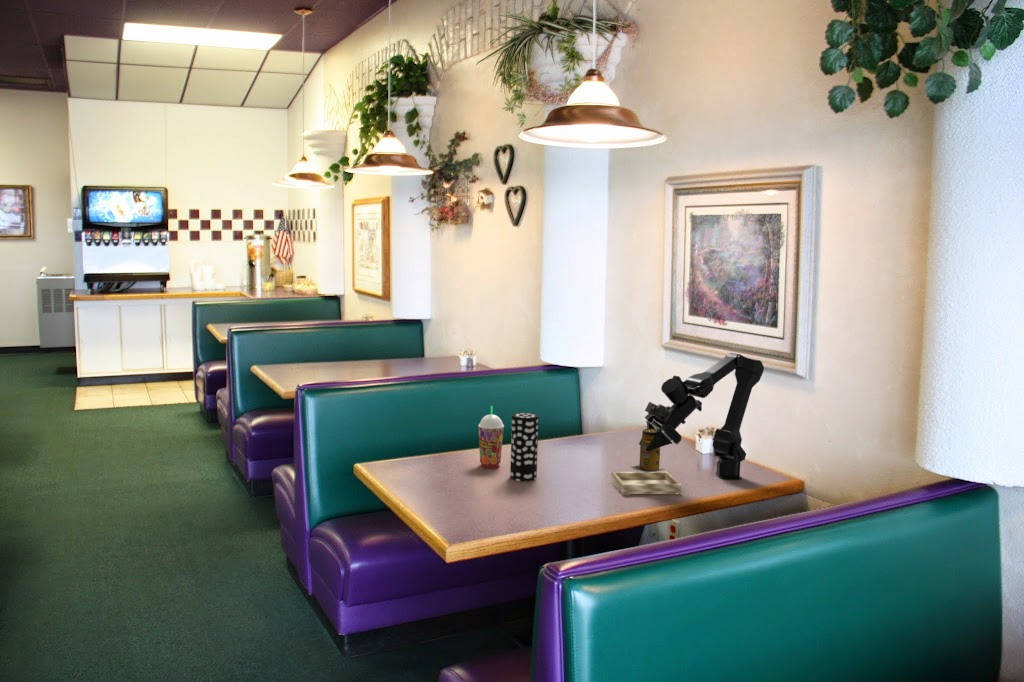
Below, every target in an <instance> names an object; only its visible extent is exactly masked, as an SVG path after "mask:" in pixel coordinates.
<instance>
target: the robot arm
mask: <svg viewBox="0 0 1024 682" xmlns="http://www.w3.org/2000/svg"><path fill="white" fill-rule="evenodd" d="M734 370H735V372H734V377H735V381H736V384H735V389H734V392H733V395H732V398H731V401H730V405H729V408H728V412H727V416H726V419H725V421H724V424H723V426H722V427H721V428H716V429H715V432H714V435H713V438H712V439H711V440H712V447H713V452H714V456H715V457H718V461H717V462H716V470H715V474H716V475H717V476H718V477H719V478H720V479H722V480H735V479H736V480H741V479H742V476H741V463H742V462H743V461H745V460H746V456H747V453H746V451H745V450H744V448H743V447H742V441H743V439H742V435H741V431H740V430H741V426H742V424H743V423H742V422H743V419H744V416H745V413H746V410H747V406H748V403H749V400H750V396H751V393H752V389H753V387H755V386H756V385H757V383H759V381H760V380H761V378H762V376H763V374H764V370H765V366H764V364H763V362H762V360H759V359H754V358H750V357H746V356H744V355H742V354H740V353H734V352H728V353H727V354H726V355H725V356H724V357H723V358H722V359H720V360H718V362H716V363H715V364H713V365H712V366H710V367H708V369H706V370H704V371H703V372H701V373H696V374H693V375H690V376H689V377H687V378H686V379H685V380H684V381H683V380H682V378H681V377H680V376H679V375H673V376H672V377H671V378H669V379H666V380H665V381H663V382H662V385H661V387H660V388H661V392H662V393H663V394H664V395H665V397H666V398H667V399H668V400H669V401H670V403H672V405H671V406H669V405H667V406H665V405H662V404H661V403H658V405H657V404H655V403H653V402H651V401H649V402H648V404H647V406H646V408H645V410H644V411H645V412H647V414H646V415H645V416H644V419H645V420H646V421H645V422H646V429H655V430H657V431H656V436H655V437H654V438H653V440H652V441H651V442H650V443H649V445H648V446H647V447H646V450H647V451H648V452H649V451H651V450H654V449H657V448H659V447H660V448H662V447H666V446H668V445H673V443H674V444H675V445H679V444H680V442H682V435H681V434H680V433H679V432H678V431H677V430H676V429H678V427H679V426H680V425H682V424H683V425H685V424H686V419H687V418H689V416H690V415H691V414H692V413H693V412H694V411H695V410H697V411H699V412H702V410H703V409H702V407H703V406H702V405H703V403H702V401H701V400H699V399H696V398H700V399H705V398H707V397H708V396H709V395H710V394H711V393H712V392H713V391H714V387H715V385H716V384H717V383H718V382H720V381H721V380H722V379H723V378H726V377H727V376H728V375H729V374H730V373H732V372H733V371H734ZM695 397H696V398H695ZM640 443H641V440H640V441H639V443H638V444H639V446H640Z"/></svg>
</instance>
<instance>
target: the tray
mask: <svg viewBox="0 0 1024 682" xmlns="http://www.w3.org/2000/svg"><path fill="white" fill-rule="evenodd" d="M610 475H611V477H610V482H611V483H612V484H613V486H614V485H615V486H616V487H615V488H616V489H617V490H618V492H619V491H620V492H621V493H622V494H621V493H620V492H619V493H620V494H621V495H622V496H630V495H629V494H670V495H681V494H682V484H681V483H680V482H679V481H678V480H677V479H676V478H675V477H674V476H672V475H671V474H670V473H669V472H668V471H657V472H649V473H645V474H644V473H641V472H638V471H611V473H610ZM676 493H678V494H676ZM680 493H681V494H680ZM624 494H625V495H624Z"/></svg>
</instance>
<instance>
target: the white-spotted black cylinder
mask: <svg viewBox="0 0 1024 682" xmlns="http://www.w3.org/2000/svg"><path fill="white" fill-rule="evenodd" d="M539 417H540V416H539V414H537V413H532V412H515V413H513V414H512V415H511V435H510V436H511V438H510V442H511V443H510V467H509V468H510V470H509V471H510V473H509V474H510V475H509V477H510V479H511V480H513V481H516V482H532V481H536V479H537V478H538V477H537V475H538V473H537V472H538V452H539V451H538V448H539V447H538V445H539V444H538V443H539V419H540V418H539Z"/></svg>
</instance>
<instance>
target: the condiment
mask: <svg viewBox="0 0 1024 682" xmlns="http://www.w3.org/2000/svg"><path fill="white" fill-rule="evenodd" d="M656 431H657V430H655V429H647V428H645V429H643V430H642V434H641V438H640V441H641V443H640V442H639V443H640V445H639V448H640V449H639V450H640V451H639V463H638V464H639V465H633V466H628V468H630V469H632V470H633V471H635V472H641V473H644V474H645V473H649V472H663V471H665V470H666V469H664V468H661V467H660V458H661V457H660V456H661V447H659V448H657V449H654V450H651V451H649V452H648V451H647V450H646V447H647V446H648V445H649V443H650V442H651V441H652V440H653V438H654V437H655V436H656Z"/></svg>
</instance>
